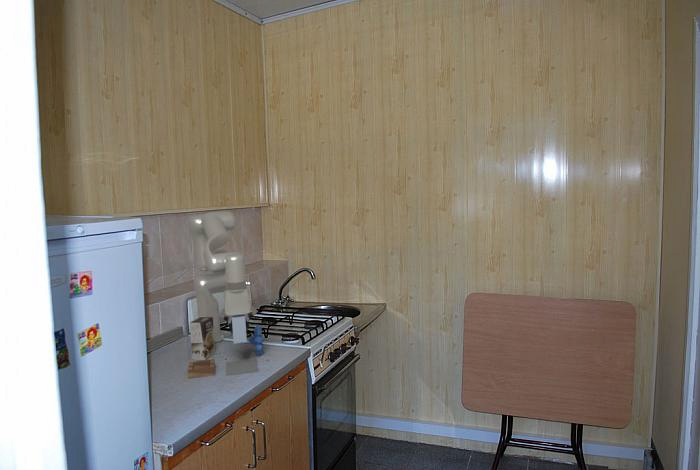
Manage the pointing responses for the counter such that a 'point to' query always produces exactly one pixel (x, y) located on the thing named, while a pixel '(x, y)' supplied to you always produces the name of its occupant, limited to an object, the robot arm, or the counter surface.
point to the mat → (241, 367)
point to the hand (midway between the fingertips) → (239, 331)
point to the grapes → (257, 340)
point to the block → (239, 329)
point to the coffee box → (202, 338)
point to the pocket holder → (201, 368)
